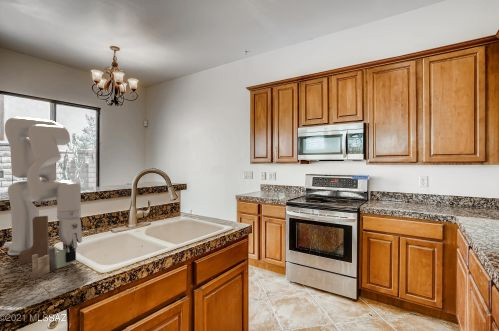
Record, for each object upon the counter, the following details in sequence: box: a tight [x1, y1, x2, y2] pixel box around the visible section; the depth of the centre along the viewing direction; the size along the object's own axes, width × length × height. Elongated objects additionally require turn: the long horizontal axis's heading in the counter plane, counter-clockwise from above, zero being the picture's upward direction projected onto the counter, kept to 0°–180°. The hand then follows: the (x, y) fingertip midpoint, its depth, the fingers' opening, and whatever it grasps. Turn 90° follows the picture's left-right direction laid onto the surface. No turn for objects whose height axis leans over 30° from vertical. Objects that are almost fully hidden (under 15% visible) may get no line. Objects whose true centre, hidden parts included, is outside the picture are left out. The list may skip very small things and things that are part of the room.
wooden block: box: [18, 215, 50, 265], centre depth 105 cm, size 9×4×18 cm, turn 122°
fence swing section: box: [55, 248, 73, 270], centre depth 99 cm, size 6×2×8 cm, turn 153°
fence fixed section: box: [31, 246, 56, 280], centre depth 93 cm, size 8×2×9 cm, turn 173°
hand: (69, 260), depth 101 cm, fingers closed on fence swing section
